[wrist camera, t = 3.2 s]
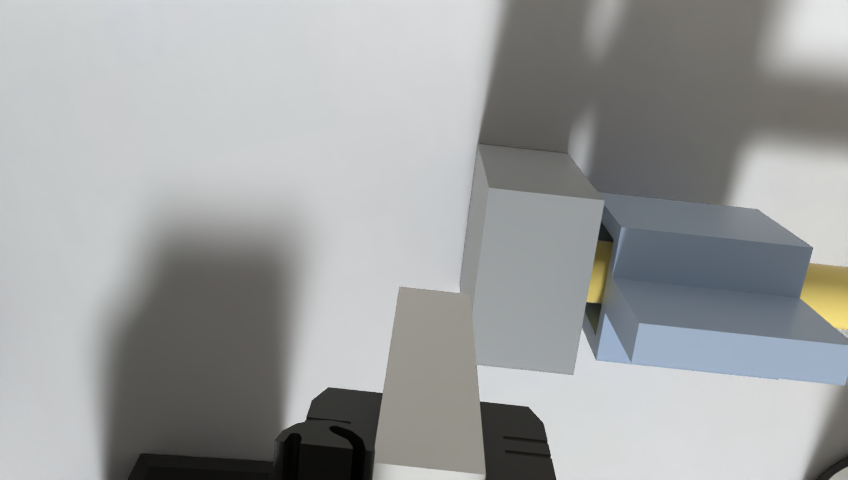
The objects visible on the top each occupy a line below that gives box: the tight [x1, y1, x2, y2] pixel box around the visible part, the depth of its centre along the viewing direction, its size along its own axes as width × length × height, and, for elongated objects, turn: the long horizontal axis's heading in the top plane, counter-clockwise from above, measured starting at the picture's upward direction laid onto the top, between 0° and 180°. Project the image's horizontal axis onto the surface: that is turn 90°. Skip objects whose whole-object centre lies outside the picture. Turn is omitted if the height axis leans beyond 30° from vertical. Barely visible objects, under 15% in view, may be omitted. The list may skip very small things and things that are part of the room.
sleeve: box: [582, 192, 848, 385], centre depth 22 cm, size 5×4×7 cm
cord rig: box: [460, 144, 848, 375], centre depth 24 cm, size 22×5×7 cm, turn 84°
